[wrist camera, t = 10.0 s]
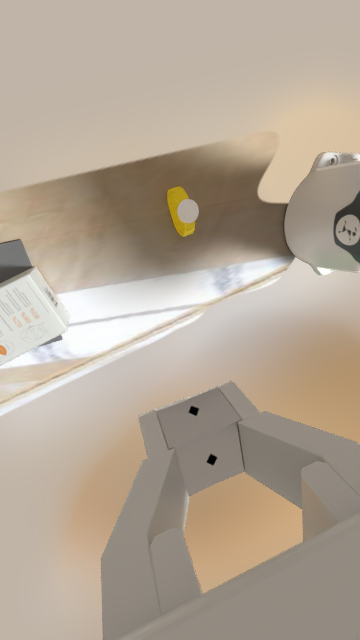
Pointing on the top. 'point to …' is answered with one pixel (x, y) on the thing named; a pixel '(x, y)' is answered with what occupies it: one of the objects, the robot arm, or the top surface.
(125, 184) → the top surface
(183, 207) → the watch
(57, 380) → the top surface
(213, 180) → the top surface
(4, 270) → the mat
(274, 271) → the top surface
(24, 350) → the small box
